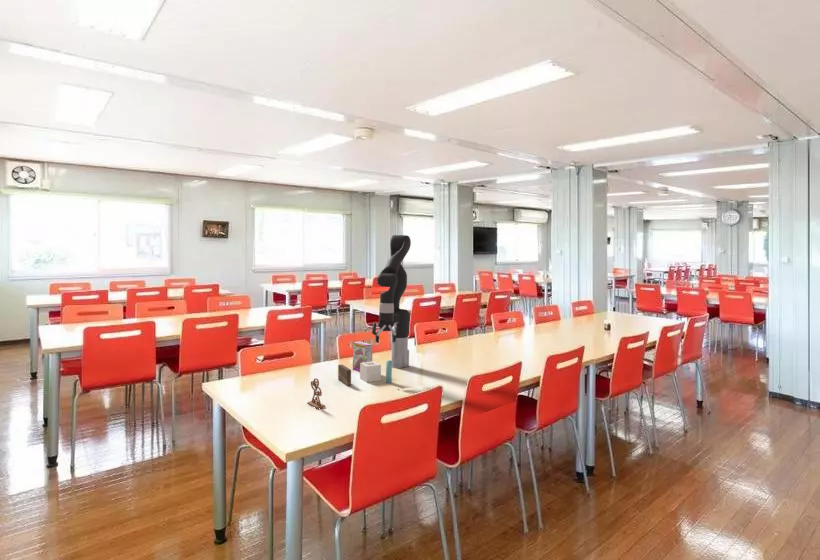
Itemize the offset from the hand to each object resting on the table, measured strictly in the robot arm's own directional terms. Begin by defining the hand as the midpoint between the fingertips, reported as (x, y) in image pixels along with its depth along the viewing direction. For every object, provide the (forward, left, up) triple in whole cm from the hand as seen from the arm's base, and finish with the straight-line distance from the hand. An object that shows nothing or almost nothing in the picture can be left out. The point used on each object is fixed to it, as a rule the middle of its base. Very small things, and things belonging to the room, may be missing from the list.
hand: (385, 342), depth 247 cm
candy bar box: (+7, -14, -19) cm, 25 cm away
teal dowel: (+4, +12, -19) cm, 23 cm away
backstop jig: (+12, +3, -19) cm, 22 cm away
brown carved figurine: (+46, +26, -19) cm, 56 cm away
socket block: (+10, +3, -18) cm, 20 cm away
